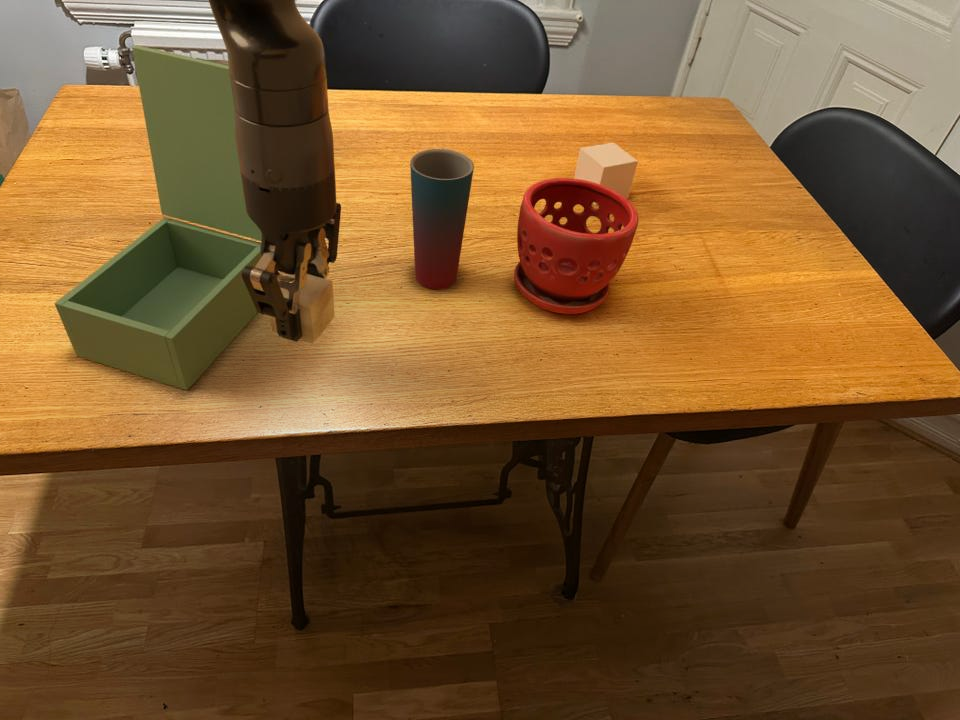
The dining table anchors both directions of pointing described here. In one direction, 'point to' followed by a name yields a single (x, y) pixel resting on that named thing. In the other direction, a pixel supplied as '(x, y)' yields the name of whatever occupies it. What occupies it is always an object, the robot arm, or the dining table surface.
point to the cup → (439, 214)
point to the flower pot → (571, 244)
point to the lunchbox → (163, 303)
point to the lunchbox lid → (193, 140)
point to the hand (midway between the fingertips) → (303, 321)
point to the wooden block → (312, 307)
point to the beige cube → (607, 167)
